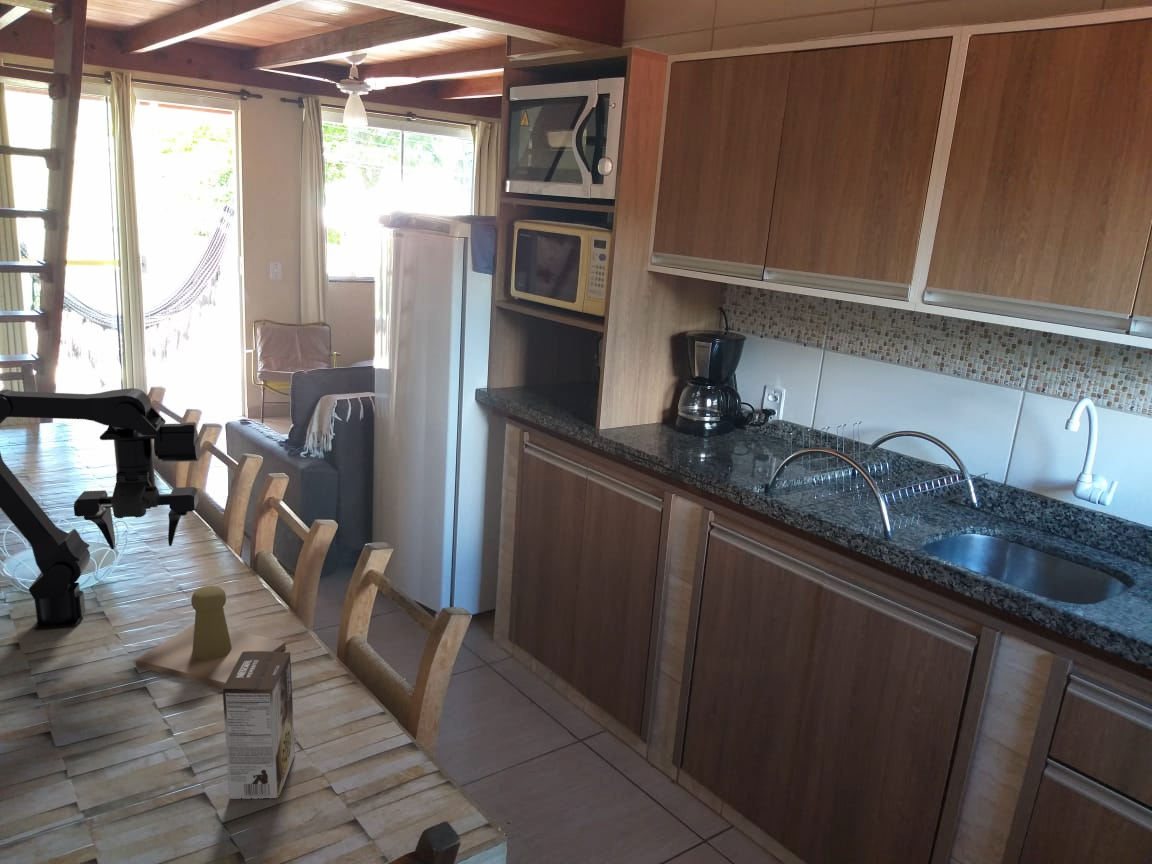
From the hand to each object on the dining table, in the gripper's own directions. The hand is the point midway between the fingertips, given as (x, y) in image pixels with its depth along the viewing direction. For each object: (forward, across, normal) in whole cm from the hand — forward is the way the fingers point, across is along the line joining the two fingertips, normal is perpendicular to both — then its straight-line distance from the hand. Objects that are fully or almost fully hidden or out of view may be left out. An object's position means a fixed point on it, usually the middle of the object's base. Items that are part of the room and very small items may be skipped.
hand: (142, 546), depth 148 cm
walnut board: (+13, +13, -18) cm, 26 cm away
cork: (+12, +13, -18) cm, 25 cm away
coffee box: (+13, +23, -51) cm, 57 cm away
